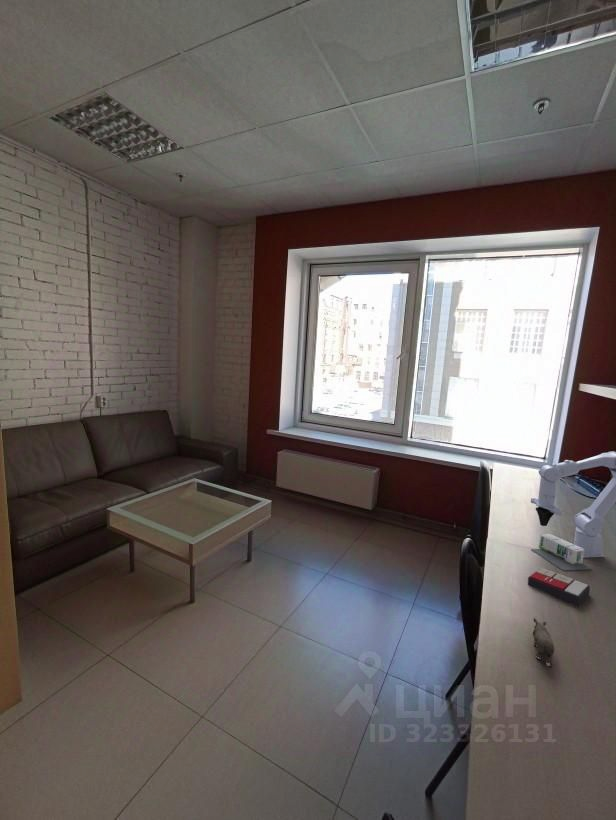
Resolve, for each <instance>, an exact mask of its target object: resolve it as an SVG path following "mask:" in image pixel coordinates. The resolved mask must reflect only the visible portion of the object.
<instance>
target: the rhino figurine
mask: <svg viewBox="0 0 616 820" xmlns="http://www.w3.org/2000/svg"><path fill="white" fill-rule="evenodd" d="M533 622H534V623H535V625H534V626H533V631H532V636H533V639H534V642H533V643H534V644H535V645H537V647H536V649H537V655H536V654H535V655H536V656H537V657H539V658H540V657H541V658H542V656H543V655H544V652H545V655H546V661H545V662H547V663H551V662H552V657H553V655H554V653H555V646H554V643H553V640H552V638H551V635H550V632H549V631H548V629H547V628H546V625H547V621H542V622H539V621H538V620H537V619H536V618H535V617H534V618H533ZM551 664H552V663H551Z"/></svg>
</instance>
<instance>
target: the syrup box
mask: <svg viewBox="0 0 616 820" xmlns="http://www.w3.org/2000/svg"><path fill="white" fill-rule="evenodd" d="M539 536H540V537H539V544H538V549H543V550H545V551H547V552H549V553H551V554H553V555H555V556H557V557H559V558H561V559H563V560H565V561H567V562H569V563H571V564H580V563H583V562H584V561H583V560H584V557H583V555H584V549H583V548H581V547H578V546H576V545H574V543H572V542H569V541H567V540H565V539H562V538H559V537H558V536H556V535H553V534H551V533H545V534H540V535H539ZM583 564H584V563H583Z"/></svg>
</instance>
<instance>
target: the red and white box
mask: <svg viewBox="0 0 616 820" xmlns="http://www.w3.org/2000/svg"><path fill="white" fill-rule="evenodd" d="M527 585H528V586H529V587H532V588H534V589H536V590H539V591H540V592H543V593H546V594H548V595H550V596H553V597H555V598H557V599H561V601H563V602H565V603H567V604H569V603H571V604H570V605H572V604H573V605H572V606H574V605H575V606H574V607H576V606H577V608H580V607H581V606H582V605H583V603H585V601H586V600H587V599H588V598H589V597H590V589H591V588H590V585H588V584H586V583H584V582H581V581H578V580H576V579H575V580H574V578H571V577H569V576H567V575H563V574H561V573H556V572H555V571H552V570H550V569H547V568H544V567H540V568H538V570H536V571H535V572H533V573H532V574H530V576H528V577H527ZM581 604H582V605H581ZM580 605H581V606H580ZM579 606H580V607H579Z"/></svg>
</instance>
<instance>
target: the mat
mask: <svg viewBox="0 0 616 820" xmlns="http://www.w3.org/2000/svg"><path fill="white" fill-rule="evenodd" d="M531 551H533V553H535V554H537V555H538V556H540V557H541V558H543V559H545V560H546V561H547V562H549V563H550V564H551V565H554V566H555V567H556V568H557V569H559V570H561V571H563V572H568V571H569V572H570V571H586V570H587V571H590V570H592V568H591V567H589V566H588V565H585V564H584V563H580V564H571V563H569V562H567V561H565V560H563V559H561V558H559V557H557V556H555V555H553V554H551V553H549V552H547V551H545V550H543V549H541V548H532V549H531Z"/></svg>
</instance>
